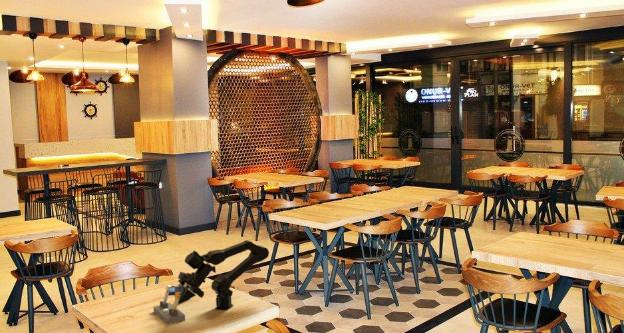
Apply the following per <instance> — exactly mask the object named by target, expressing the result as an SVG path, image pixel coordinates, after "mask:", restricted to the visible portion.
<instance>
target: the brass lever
mask: <svg viewBox="0 0 624 333" xmlns="http://www.w3.org/2000/svg"><path fill="white" fill-rule="evenodd" d="M175 296H176V298H175ZM180 297H181V293H180V292H177V293H176V294H175V295H174V302H173V309H172V311H176V308H177V309H178V305H179V304H178V301H179V298H180ZM172 311H171V313H172Z"/></svg>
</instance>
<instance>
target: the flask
mask: <svg viewBox="0 0 624 333" xmlns="http://www.w3.org/2000/svg"><path fill="white" fill-rule="evenodd" d="M173 286H174V288H175V294H176V293H177V292H180V293H181V294H182V291H183V289H182V286H183V285H182V284H181V283H178V284H175V285H173ZM175 298H176V296H175V295H174V299H175ZM179 299H180V298H179ZM189 300H191V298H190V299H188V300H186V301H185V302H187V301H189ZM179 304H180V303H178V304H177V305H179ZM180 305H181V304H180Z"/></svg>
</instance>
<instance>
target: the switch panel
mask: <svg viewBox="0 0 624 333" xmlns="http://www.w3.org/2000/svg"><path fill="white" fill-rule="evenodd" d="M162 303H163V300H161V301H159V305H155V306H153V307H152V308H153V312H154V314H155V315H157V317H159V319H161V320H162V321H164V323H166V324H167V325H171V323H172V324H175V322H176V323H179V321H180V322H184V321H186V315H185V313H183V311H181V310H179V308H178V307H177V308H176V311H172V309H173V306H174V304H172V303H170V302H166V303H163V304H162ZM171 311H172V313H171ZM183 320H184V321H183Z"/></svg>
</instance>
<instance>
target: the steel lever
mask: <svg viewBox="0 0 624 333" xmlns="http://www.w3.org/2000/svg"><path fill="white" fill-rule="evenodd" d="M170 290H171V285H170V284H167V285H166V286H165V293H164V297H163V299H162V301H163V303H168V302H167V301H168V298H169V295H168V294H169V291H170ZM163 303H162V304H163Z"/></svg>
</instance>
